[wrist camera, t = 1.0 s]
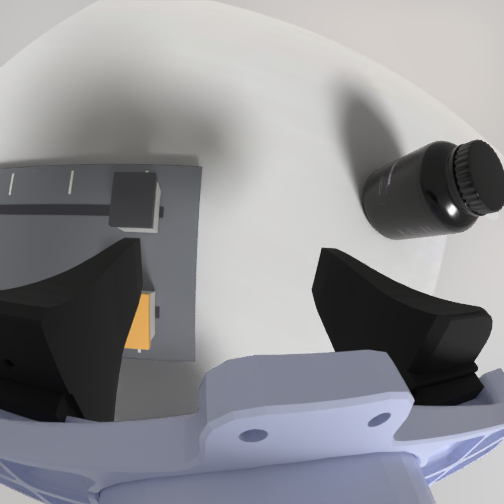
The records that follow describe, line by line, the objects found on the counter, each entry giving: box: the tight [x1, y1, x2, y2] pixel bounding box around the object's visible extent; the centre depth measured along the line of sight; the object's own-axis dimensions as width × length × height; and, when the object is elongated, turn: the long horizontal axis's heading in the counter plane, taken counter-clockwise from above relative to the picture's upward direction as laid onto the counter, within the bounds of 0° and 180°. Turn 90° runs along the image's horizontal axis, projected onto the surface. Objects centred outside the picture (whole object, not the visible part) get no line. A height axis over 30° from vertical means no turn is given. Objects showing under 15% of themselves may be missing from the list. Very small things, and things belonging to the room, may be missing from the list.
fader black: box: [108, 172, 161, 233], centre depth 19 cm, size 3×3×4 cm
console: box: [0, 164, 202, 362], centre depth 20 cm, size 14×20×2 cm
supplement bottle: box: [363, 140, 504, 240], centre depth 20 cm, size 7×7×12 cm
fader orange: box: [124, 291, 155, 350], centre depth 18 cm, size 3×3×4 cm
